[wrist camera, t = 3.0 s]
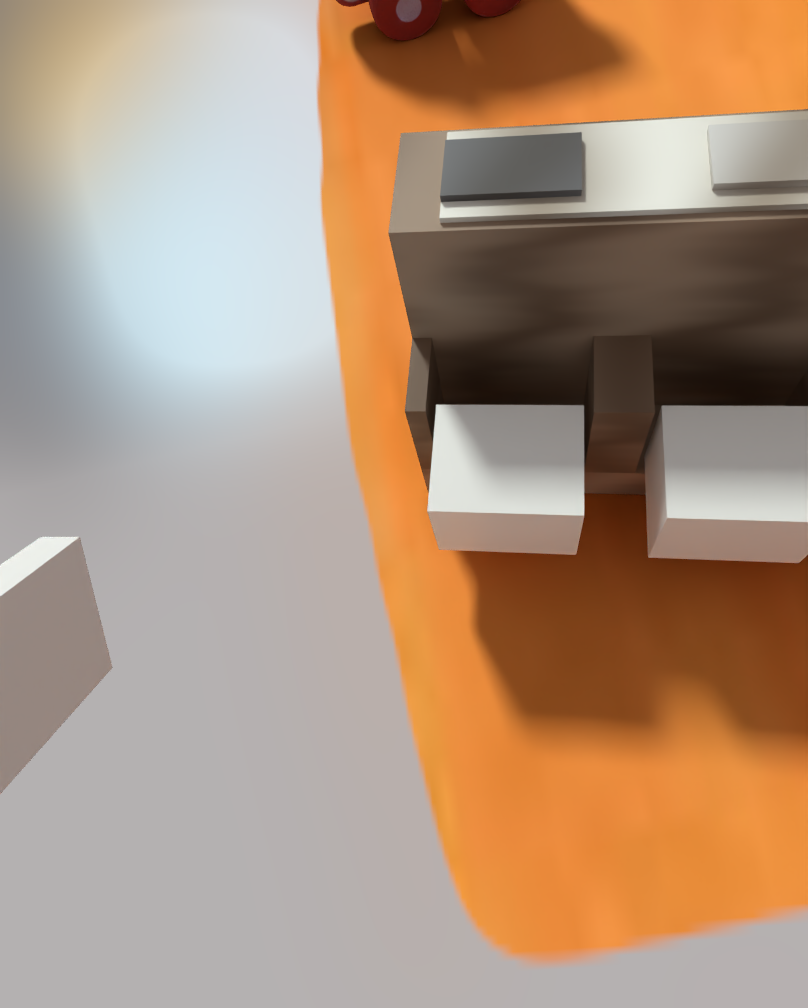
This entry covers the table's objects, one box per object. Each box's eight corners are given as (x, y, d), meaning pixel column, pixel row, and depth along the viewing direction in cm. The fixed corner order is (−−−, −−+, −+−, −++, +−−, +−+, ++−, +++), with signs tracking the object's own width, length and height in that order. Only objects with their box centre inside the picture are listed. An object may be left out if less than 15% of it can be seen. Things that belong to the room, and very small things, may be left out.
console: (427, 489, 31) (375, 307, 20) (439, 350, 34) (398, 121, 23) (1011, 503, 28) (1343, 289, 16) (973, 345, 30) (1237, 69, 19)
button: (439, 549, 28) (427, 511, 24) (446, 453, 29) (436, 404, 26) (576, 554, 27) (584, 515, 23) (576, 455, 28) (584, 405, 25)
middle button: (648, 557, 26) (667, 517, 23) (644, 456, 28) (661, 405, 24) (798, 563, 25) (842, 523, 22) (786, 459, 27) (825, 406, 24)
